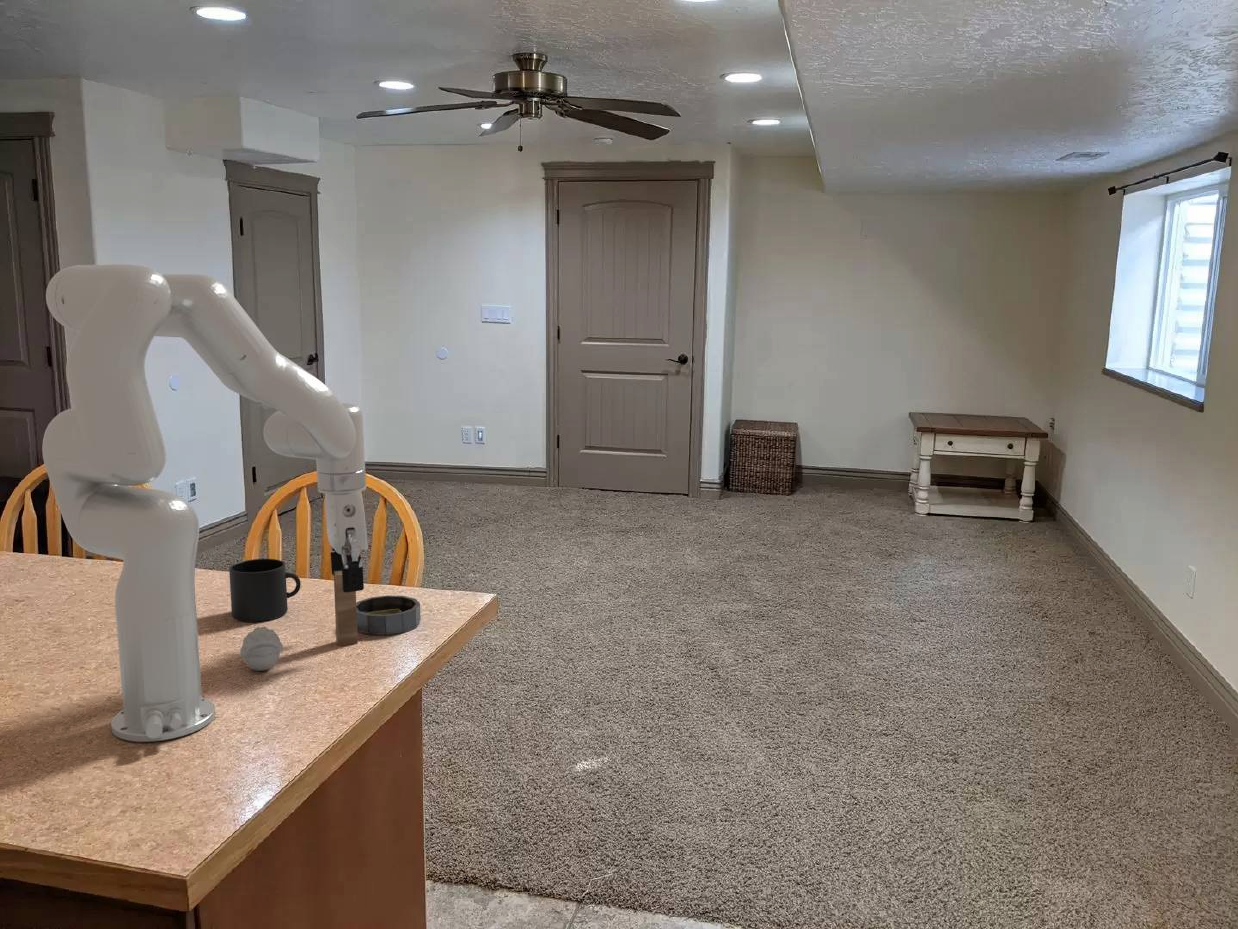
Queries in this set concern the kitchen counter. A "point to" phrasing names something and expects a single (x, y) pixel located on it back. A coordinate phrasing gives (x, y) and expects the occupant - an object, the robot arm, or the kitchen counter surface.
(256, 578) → the mug
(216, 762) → the kitchen counter surface
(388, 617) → the dark grey round tray
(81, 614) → the kitchen counter surface
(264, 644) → the frog figurine
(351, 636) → the brown rectangular bar
